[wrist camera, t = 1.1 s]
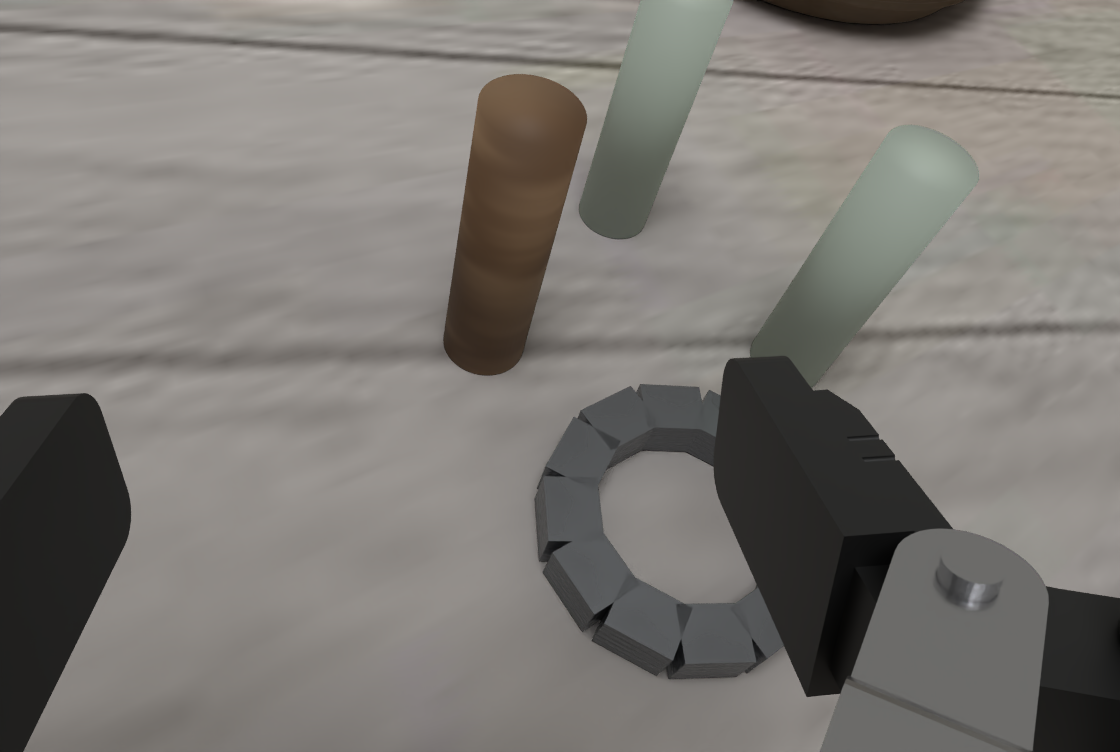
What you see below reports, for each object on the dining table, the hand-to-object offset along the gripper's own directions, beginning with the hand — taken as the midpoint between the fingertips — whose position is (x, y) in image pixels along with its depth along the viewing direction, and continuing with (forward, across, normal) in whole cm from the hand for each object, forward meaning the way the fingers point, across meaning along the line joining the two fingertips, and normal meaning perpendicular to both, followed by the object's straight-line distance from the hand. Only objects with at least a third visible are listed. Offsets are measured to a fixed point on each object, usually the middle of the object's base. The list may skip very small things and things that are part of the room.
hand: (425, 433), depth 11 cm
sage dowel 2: (+22, -15, +12) cm, 30 cm away
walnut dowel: (+22, -1, +10) cm, 24 cm away
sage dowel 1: (+30, -8, +8) cm, 32 cm away
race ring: (+14, -8, +15) cm, 22 cm away
